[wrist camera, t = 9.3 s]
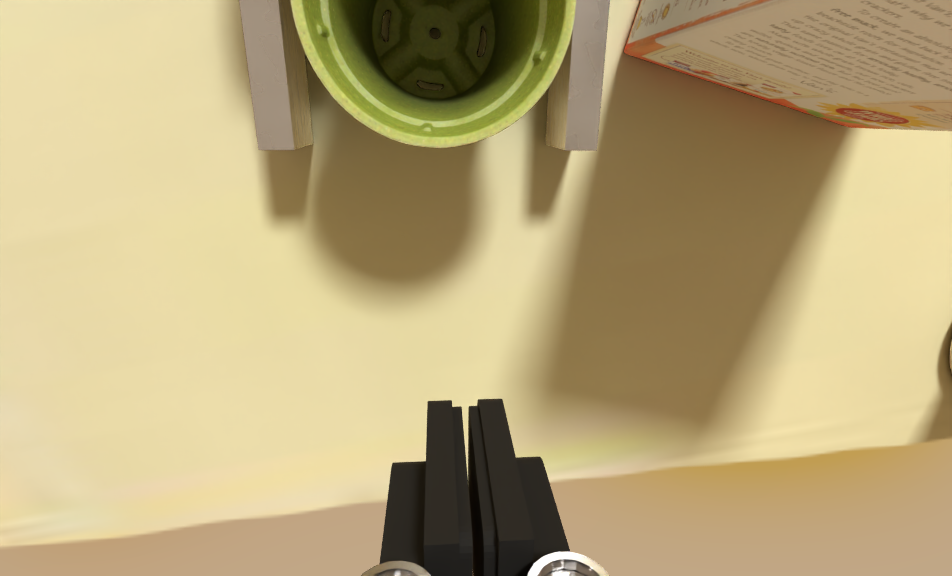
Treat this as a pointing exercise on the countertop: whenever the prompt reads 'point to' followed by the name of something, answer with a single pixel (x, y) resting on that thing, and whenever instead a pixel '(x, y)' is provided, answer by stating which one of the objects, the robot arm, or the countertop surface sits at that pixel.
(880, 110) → the cracker box
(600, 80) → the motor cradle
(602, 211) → the countertop surface
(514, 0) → the plant pot
